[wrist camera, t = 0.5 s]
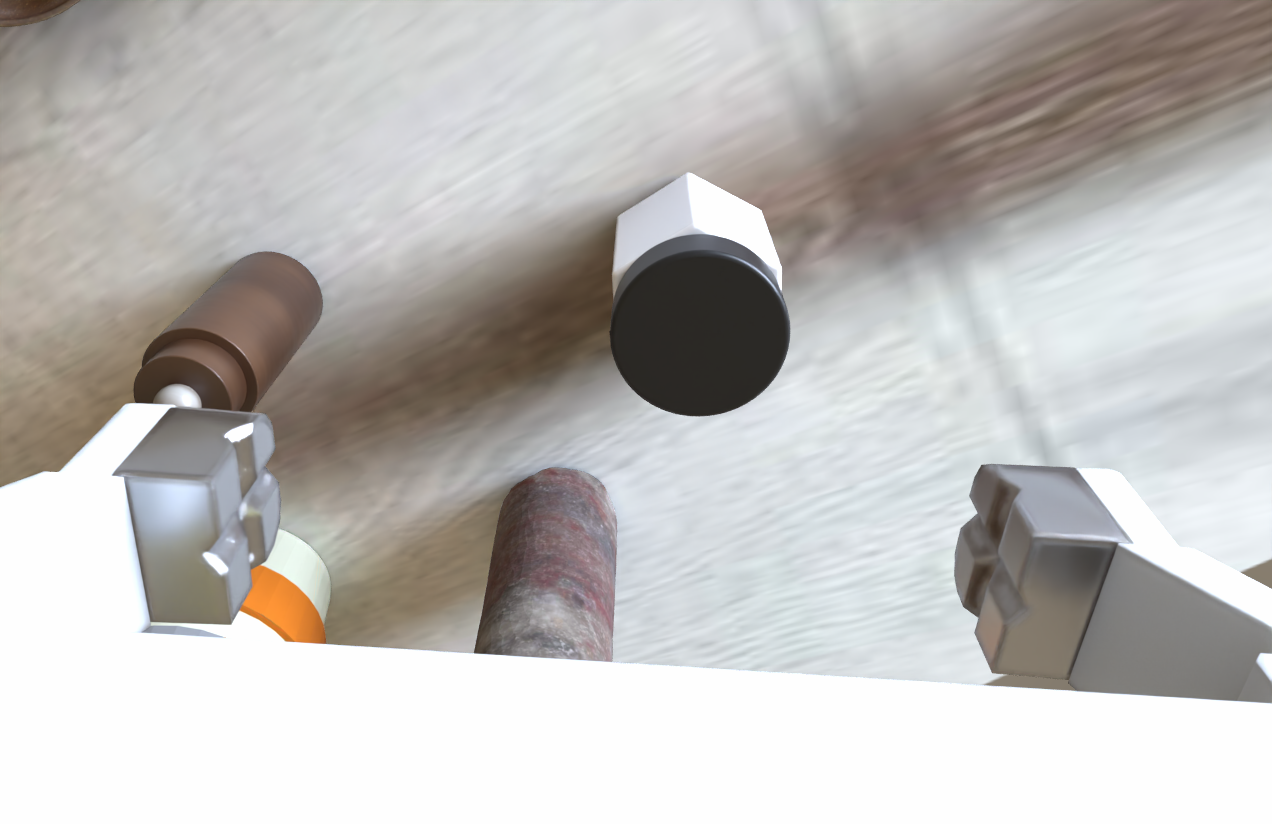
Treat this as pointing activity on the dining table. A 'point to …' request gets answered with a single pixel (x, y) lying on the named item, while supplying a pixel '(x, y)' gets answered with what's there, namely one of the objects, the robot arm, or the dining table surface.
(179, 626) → the reusable coffee cup
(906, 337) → the dining table surface
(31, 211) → the dining table surface
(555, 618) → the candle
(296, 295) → the pepper mill
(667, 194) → the jar
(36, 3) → the saucer
